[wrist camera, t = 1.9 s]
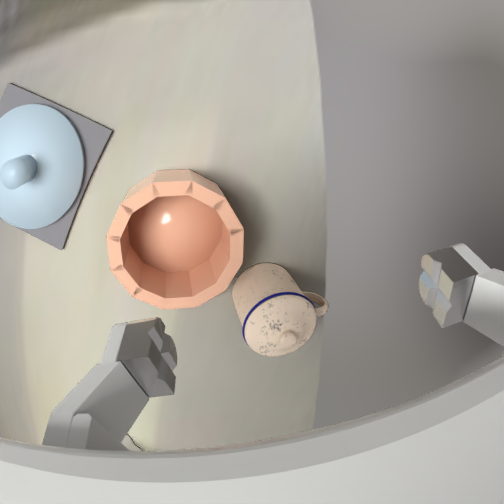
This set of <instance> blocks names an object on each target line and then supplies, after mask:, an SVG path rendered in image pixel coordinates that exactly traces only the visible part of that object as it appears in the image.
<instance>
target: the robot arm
mask: <svg viewBox="0 0 504 504" xmlns="http://www.w3.org/2000/svg"><path fill="white" fill-rule="evenodd" d="M421 267H422V268H423V269H424V271H423V273H422V274H421V276H420V277H419V291H420V295H421V297H422V300H423V301H424V303H425V304H426V305H427V306H429V307H432V308H433V316H434V317H435V318H436V320H437V321H438V323H439V324H440V326H441V327H442V328H445V327H447V326H450V325H453V324H455V323H458V322H461V321H463V320H464V321H463V322H464V323H466V324H468V325H469V326H471V327H473V328H474V329H476V330H478V331H479V332H481V333H482V334H484V335H486V336H487V337H489V338H491V339H493V340H494V341H495V342H497V343H499V344H500V345H502V346H504V272H503V271H500V270H497V269H490V268H489V267H488V266H487V265H486V264H485V263H484V262H483V261H482V260H481V259H480V258H478V256H477V255H475V253H473V252H472V251H471V250H470V249H469V248H468V247H467V246H466V245H465V244H463V243H459V244H456V245H453V246H450V247H448V248H444V249H441V250H438V251H434V252H431V253H428V254H425V255H423V257H422V260H421ZM164 331H165V325H164V323H163V322H162V320H161V318H158V317H156V318H150V319H144V320H137V321H131V322H126V323H119V324H115V325H114V326H113V327H112V329H111V332H110V335H109V339H108V342H107V345H106V348H105V351H104V355H103V358H102V362H101V363H99V364H96V365H95V366H94V367H93V368H92V369H91V371H90V372H89V373H88V374H87V375H86V376H85V377H84V378H83V379H82V380H81V381H80V382H79V383H78V384H77V385H76V386H75V387H74V388H73V389H72V390H71V391H70V392H69V394H68V395H67V396H66V397H65V398H64V399H63V400H62V401H61V402H60V403H59V404H58V405H57V406H56V407H55V408H54V409H53V411H52V412H51V415H50V418H49V422H48V425H47V428H46V432H45V436H44V439H43V443H42V445H40V444H33V443H27V442H21V441H16V440H10V439H5V438H0V504H504V351H503V354H502V356H501V357H500V359H498V360H496V361H494V362H492V363H491V364H489V365H487V366H485V367H483V368H481V369H479V370H477V371H475V372H473V373H471V374H469V375H467V376H465V377H463V378H461V379H459V380H456V381H454V382H452V383H450V384H448V385H445V386H443V387H441V388H439V389H436V390H434V391H432V392H429V393H427V394H424V395H422V396H419V397H417V398H414V399H412V400H409V401H406V402H404V403H401V404H398V405H395V406H392V407H390V408H387V409H384V410H381V411H378V412H375V413H372V414H369V415H365V416H362V417H359V418H356V419H352V420H348V421H345V422H341V423H338V424H334V425H330V426H326V427H322V428H318V429H314V430H310V431H306V432H301V433H297V434H292V435H287V436H282V437H277V438H271V439H266V440H260V441H254V442H247V443H240V444H233V445H225V446H216V447H207V448H195V449H182V450H162V451H142V450H141V449H140V448H138V447H137V446H135V445H134V443H133V441H132V440H131V438H130V437H129V436H128V435H126V434H127V433H128V431H129V430H130V428H131V427H132V425H133V424H134V422H135V420H136V419H137V417H138V416H139V414H140V413H141V411H142V410H143V408H144V407H145V405H146V404H147V402H148V400H149V398H150V397H158V396H165V395H173V394H174V391H175V379H176V376H175V375H174V373H173V372H172V370H173V369H174V368H175V367H176V366H177V352H176V347H175V344H174V342H173V340H172V338H171V336H169V335H167V334H166V333H164Z"/></svg>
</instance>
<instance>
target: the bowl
mask: <svg viewBox="0 0 504 504" xmlns="http://www.w3.org/2000/svg"><path fill="white" fill-rule="evenodd" d="M106 240H107V247H108V254H109V261H110V267H111V271H112V273H113V274H114V275H115V276H116V277H117V279H118V280H119V281H120V282H121V284H122V285H123V286H124V287H125V288H126V290H127V291H128V292H129V293H130V294H131V296H132V297H134V298H137V299H139V300H141V301H144V302H146V303H149V304H151V305H154V306H156V307H159V308H161V309H177V308H191V307H198V306H199V305H201V304H203V303H205V302H206V301H208V300H210V299H212V298H213V297H215V296H217V295H218V294H220V293H222V292H224V291H225V290H226V289H227V287H228V285H229V284H230V282H231V281H232V279H233V278H234V276H235V274H236V273H237V271H238V270H239V268H240V266H241V265H242V263H243V241H244V228H243V227H242V225H241V223H240V222H239V220H238V218H237V217H236V215H235V213H234V211H233V210H232V208H231V206H230V205H229V203H228V201H227V200H226V198H225V196H224V194H223V193H222V191H221V190H220V188H219V187H218V185H217V184H216V183H214V182H212V181H210V180H208V179H207V178H205V177H203V176H201V175H199V174H197V173H195V172H193V171H191V170H190V169H181V170H161V171H155V172H154V173H152V174H151V175H149V176H148V177H146V178H145V179H143V180H142V181H140V182H139V183H137V184H136V185H134V186H133V187H131V188H130V189H129V191H128V192H127V194H126V196H125V197H124V199H123V201H122V203H121V205H120V207H119V209H118V211H117V213H116V216H115V218H114V220H113V222H112V225H111V227H110V229H109V231H108V234H107V236H106Z"/></svg>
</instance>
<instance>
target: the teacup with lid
mask: <svg viewBox="0 0 504 504" xmlns="http://www.w3.org/2000/svg"><path fill="white" fill-rule="evenodd" d="M232 298H233V302H234V305H235V308H236V311H237V313H238V316H239V319H240V322H241V325H242V328H243V337H244V340H245V342H246V343H247V345H248V346H249V347H250V348H251V349H252V350H254V351H255V352H257V353H259V354H262V355H265V356H282V355H286V354H289V353H291V352H293V351H295V350H297V349H299V348H300V347H301V346H303V345H304V344H305V343H306V342H307V341H308V340H309V338H310V337H311V335H312V334H313V332H314V330H315V327H316V322H317V317H319V316H322V315H324V314H325V313H326V312H327V311H328V307H329V305H328V302H327V300H326V299H325V298H323V297H322V296H320V295H318V294H316V293H312V292H302V291H301V290H300V288H299V287H298V286H297V284H296V283H295V281H294V280H293V279H292V277H291V276H290V274H289V273H288V272H287V271H286V270H285V269H284V268H283V267H281V266H279V265H276V264H272V263H262V264H257V265H254V266H252V267H250V268H248V269H247V270H245V271H244V272H243V273H242V274H241V275H240V276H239V277H238V278H237V280H236V282H235V284H234V286H233V291H232ZM311 301H312V302H315V303H317V304H319V305H320V306H321V307H319V308H315V307H314V305H313V303H312V302H311Z"/></svg>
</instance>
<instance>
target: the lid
mask: <svg viewBox="0 0 504 504" xmlns="http://www.w3.org/2000/svg"><path fill="white" fill-rule="evenodd" d="M84 169H85V158H84V150H83V146H82V142H81V139H80V136H79V134H78V132H77V130H76V128H75V127H74V125H73V124H72V122H71V121H70V120H69V119H68V118H67V117H66V116H65V115H64V114H63V113H61V112H60V111H58V110H57V109H55V108H52V107H50V106H47V105H41V104H28V105H22V106H19V107H16V108H14V109H12V110H10V111H9V112H7V113H6V114H4V115H3V116H2V117H1V118H0V217H1V218H2V219H3V220H4V221H6V222H7V223H9V224H11V225H13V226H16V227H19V228H24V229H37V228H42V227H45V226H48V225H50V224H52V223H53V222H55V221H56V220H58V219H59V218H60V217H61V216H62V215H63V214H64V213H65V212H66V211H67V210H68V209H69V208H70V207H71V206H72V204H73V202H74V201H75V199H76V197H77V195H78V193H79V191H80V188H81V185H82V181H83V177H84Z"/></svg>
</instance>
